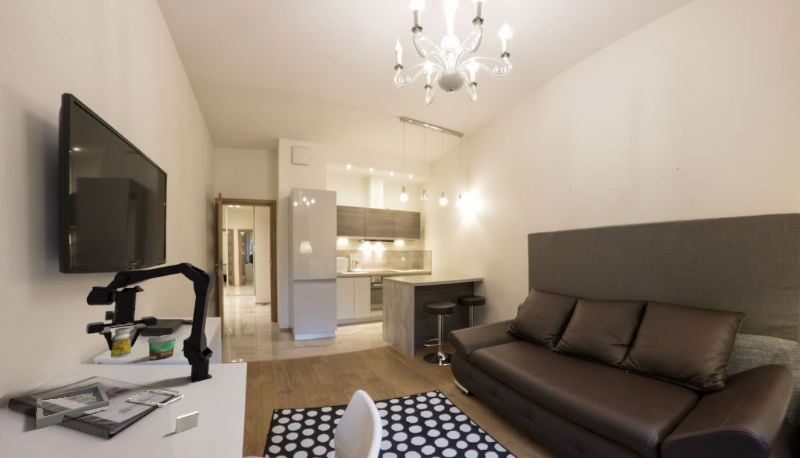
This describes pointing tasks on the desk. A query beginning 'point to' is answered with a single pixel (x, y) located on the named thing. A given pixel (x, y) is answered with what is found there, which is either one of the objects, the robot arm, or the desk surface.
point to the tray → (57, 417)
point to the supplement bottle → (121, 343)
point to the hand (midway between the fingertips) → (121, 348)
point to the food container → (161, 346)
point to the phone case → (169, 401)
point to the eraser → (187, 421)
